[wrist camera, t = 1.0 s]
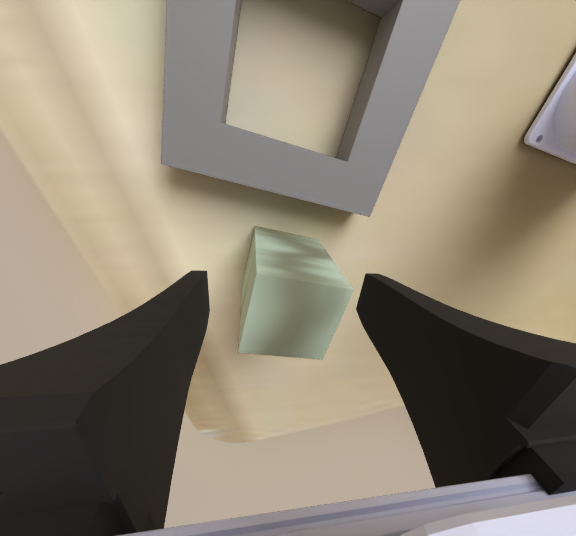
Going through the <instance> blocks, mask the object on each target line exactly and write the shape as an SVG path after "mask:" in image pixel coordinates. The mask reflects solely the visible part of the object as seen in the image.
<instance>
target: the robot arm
mask: <svg viewBox="0 0 576 536" xmlns="http://www.w3.org/2000/svg"><path fill="white" fill-rule="evenodd" d="M537 137H538V138H537ZM536 139H537V140H536ZM524 142H525V144H527V145H530V146H532V147H534V148H537V149H539V150H542V151H544V152H547V153H549V154H551V155H554V156H556V157H559V158H561V159H564V160H566V161H568V162H571V163H573V164H576V53H575V55H574V57H573V58H572V60H571V62H570V63H569V65H568V66H567V68H566V70H565V71H564V73H563V75H562V76H561V78H560V80H559V81H558V83H557V85H556V86H555V88H554V89H553V91H552V93H551V94H550V96H549V98H548V99H547V101H546V103H545V104H544V106H543V107H542V109H541V111H540V112H539V114H538V116H537V117H536V119H535V121H534V122H533V124H532V125H531V127H530V129H529V130H528V132H527V134H526V135H525V138H524ZM356 310H357V312H358V315H359V318H360V320H361V323H362V325H363V327H364V329H365V331H366V333H367V334H368V336H369V338H370V339H371V341H372V343H373V345H374V346H375V348H376V350H377V351H378V353H379V355H380V356H381V358H382V360H383V361H384V363H385V365H386V366H387V368H388V370H389V372H390V374H391V376H392V378H393V380H394V382H395V384H396V386H397V388H398V391H399V393H400V395H401V397H402V399H403V402H404V404H405V406H406V409H407V411H408V414H409V415H410V418H411V421H412V423H413V425H414V428H415V431H416V434H417V436H418V439H419V441H420V444H421V447H422V449H423V452H424V455H425V458H426V461H427V463H428V466H429V469H430V472H431V475H432V478H433V481H434V484H435V487H436V488H432V489H425V490H419V491H412V492H405V493H398V494H391V495H385V496H378V497H371V498H364V499H358V500H351V501H344V502H338V503H332V504H324V505H318V506H311V507H305V508H298V509H291V510H284V511H278V512H271V513H265V514H257V515H251V516H245V517H238V518H231V519H224V520H217V521H211V522H204V523H197V524H191V525H184V526H177V527H171V528H164V523H165V517H166V511H167V505H168V499H169V492H170V485H171V479H172V474H173V468H174V463H175V457H176V451H177V445H178V440H179V435H180V429H181V424H182V419H183V414H184V409H185V404H186V399H187V395H188V390H189V386H190V382H191V378H192V375H193V372H194V369H195V365H196V362H197V359H198V356H199V353H200V349H201V346H202V343H203V340H204V336H205V333H206V329H207V324H208V318H209V311H210V308H209V293H208V279H207V271H190V272H189V273H187V274H186V275H185V276H183V277H182V278H181V279H179V280H178V281H177V282H175V283H174V284H173V285H171V286H170V287H168V288H167V289H166V290H164V291H163V292H161V293H160V294H158V295H157V296H155V297H154V298H152V299H150V300H149V301H147V302H146V303H144V304H143V305H141V306H139V307H138V308H136V309H134V310H133V311H131V312H129V313H127V314H125V315H123V316H121V317H119V318H118V319H116V320H114V321H112V322H110V323H108V324H105V325H103V326H101V327H99V328H97V329H94V330H92V331H90V332H87V333H85V334H83V335H81V336H79V337H76V338H74V339H71V340H69V341H66V342H64V343H61V344H59V345H56V346H54V347H51V348H48V349H46V350H43V351H40V352H37V353H35V354H32V355H29V356H26V357H23V358H20V359H18V360H15V361H11V362H8V363H5V364H2V365H0V536H576V344H575V343H570V342H566V341H561V340H556V339H552V338H548V337H544V336H540V335H536V334H532V333H528V332H525V331H521V330H517V329H514V328H510V327H507V326H504V325H501V324H497V323H494V322H491V321H488V320H485V319H482V318H479V317H476V316H473V315H471V314H468V313H465V312H463V311H460V310H457V309H455V308H452V307H450V306H448V305H445V304H443V303H441V302H439V301H436V300H434V299H432V298H430V297H428V296H425V295H423V294H421V293H419V292H417V291H415V290H413V289H411V288H409V287H407V286H405V285H403V284H401V283H399V282H397V281H394V280H392V279H390V278H388V277H386V276H383V275H380V274H365V278H364V282H363V285H362V289H361V293H360V297H359V300H358V304H357V308H356Z"/></svg>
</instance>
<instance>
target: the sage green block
mask: <svg viewBox="0 0 576 536" xmlns="http://www.w3.org/2000/svg"><path fill="white" fill-rule="evenodd" d="M353 290H354V289H353V288H352V287H351V285H350V284H349V282H348V281H347V280H346V278H345V277H344V275H343V274H342V272H341V271H340V270H339V268H338V267H337V265H336V264H335V263H334V261H333V260H332V258H331V257H330V255H329V254H328V253H327V251H326V250H325V248H324V247H323V246H322V244H321V243H320V241H319V240H317V239H313V238H308V237H303V236H299V235H294V234H290V233H285V232H280V231H276V230H271V229H266V228H262V227H257V226H255V227H254V232H253V237H252V242H251V246H250V251H249V256H248V260H247V265H246V270H245V275H244V279H243V284H242V299H241V315H240V330H239V345H238V353H249V354H261V355H272V356H284V357H295V358H307V359H319V360H323V357H324V355H325V353H326V351H327V348H328V346H329V344H330V342H331V340H332V337H333V335H334V333H335V331H336V328H337V326H338V324H339V322H340V319H341V317H342V315H343V313H344V311H345V308H346V306H347V304H348V302H349V299H350V297H351V295H352V293H353Z"/></svg>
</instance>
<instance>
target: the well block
mask: <svg viewBox="0 0 576 536" xmlns="http://www.w3.org/2000/svg"><path fill="white" fill-rule="evenodd" d="M241 1H242V0H167V11H166V39H165V68H164V96H163V125H162V153H161V164H163V165H167V166H171V167H175V168H179V169H183V170H187V171H191V172H195V173H199V174H203V175H207V176H210V177H214V178H218V179H222V180H226V181H230V182H234V183H238V184H242V185H246V186H250V187H254V188H258V189H262V190H265V191H269V192H273V193H277V194H281V195H285V196H289V197H293V198H297V199H301V200H305V201H309V202H313V203H317V204H320V205H324V206H328V207H332V208H336V209H340V210H344V211H348V212H352V213H356V214H360V215H364V216H368V217H370V215H371V213H372V210H373V208H374V205H375V203H376V201H377V198H378V196H379V193H380V191H381V189H382V186H383V184H384V182H385V179H386V177H387V174H388V172H389V170H390V167H391V165H392V162H393V160H394V158H395V155H396V153H397V150H398V148H399V146H400V143H401V141H402V138H403V136H404V134H405V131H406V129H407V126H408V124H409V122H410V119H411V117H412V114H413V112H414V110H415V107H416V105H417V102H418V100H419V98H420V95H421V93H422V91H423V88H424V86H425V83H426V81H427V79H428V76H429V74H430V71H431V69H432V67H433V64H434V62H435V59H436V57H437V55H438V52H439V50H440V47H441V45H442V43H443V40H444V38H445V35H446V33H447V31H448V28H449V26H450V23H451V21H452V19H453V16H454V14H455V12H456V9H457V7H458V4H459V2H460V0H346V1H348V2H350V3H352V4H354V5H357V6H359V7H361V8H363V9H365V10H367V11H369V12H371V13H373V14H375V15H377V16H379V17H381V20H380V23H379V26H378V30H377V33H376V36H375V39H374V42H373V45H372V48H371V51H370V54H369V58H368V61H367V64H366V67H365V70H364V73H363V76H362V79H361V82H360V85H359V89H358V92H357V95H356V98H355V101H354V104H353V107H352V110H351V113H350V116H349V120H348V123H347V126H346V129H345V132H344V135H343V138H342V141H341V144H340V148H339V151H338V154H337V157H336V158H333V157H330V156H327V155H324V154H321V153H317V152H314V151H311V150H308V149H304V148H301V147H298V146H295V145H291V144H288V143H285V142H282V141H279V140H275V139H272V138H269V137H266V136H262V135H259V134H256V133H253V132H250V131H246V130H243V129H240V128H237V127H233V126H230V125H227V124H225V122H226V114H227V107H228V99H229V92H230V84H231V77H232V69H233V62H234V54H235V47H236V39H237V32H238V24H239V16H240V9H241Z"/></svg>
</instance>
